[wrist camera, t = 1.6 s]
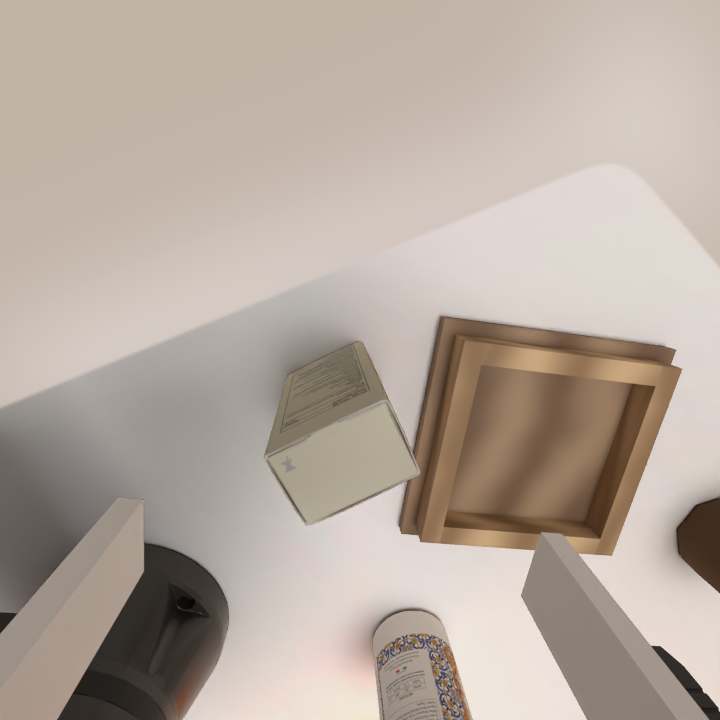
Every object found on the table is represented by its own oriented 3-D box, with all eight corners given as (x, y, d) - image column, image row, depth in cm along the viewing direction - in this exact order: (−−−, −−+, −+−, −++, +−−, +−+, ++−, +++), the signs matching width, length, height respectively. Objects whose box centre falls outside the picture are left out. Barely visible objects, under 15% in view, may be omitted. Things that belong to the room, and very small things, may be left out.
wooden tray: (399, 525, 33) (405, 551, 30) (441, 316, 29) (453, 323, 26) (595, 540, 35) (619, 566, 32) (665, 346, 30) (700, 357, 28)
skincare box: (312, 422, 30) (299, 533, 18) (285, 374, 29) (254, 459, 17) (388, 387, 30) (425, 477, 18) (364, 336, 29) (387, 398, 17)
